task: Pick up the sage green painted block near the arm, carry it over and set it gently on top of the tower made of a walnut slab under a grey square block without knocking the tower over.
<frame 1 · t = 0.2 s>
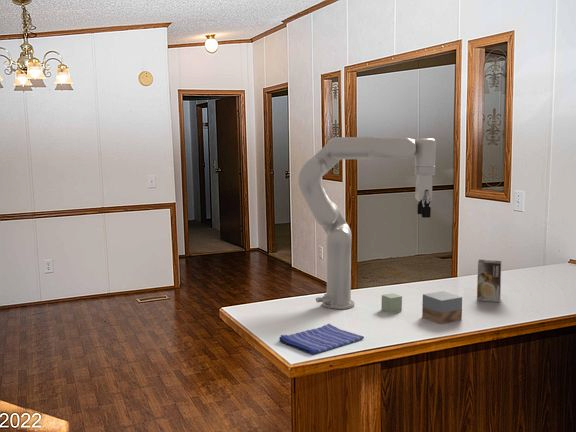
hand: (423, 215, 237), 36 cm above the table, tool pointing down, fingers open, 9 cm apart
dish towel: (320, 342, 204), on the table
grey square block: (441, 307, 227), point 4 cm above the table, touching walnut block
coffee box: (488, 300, 254), on the table
sage block: (391, 310, 238), on the table
walnut block: (441, 319, 228), on the table, touching grey square block
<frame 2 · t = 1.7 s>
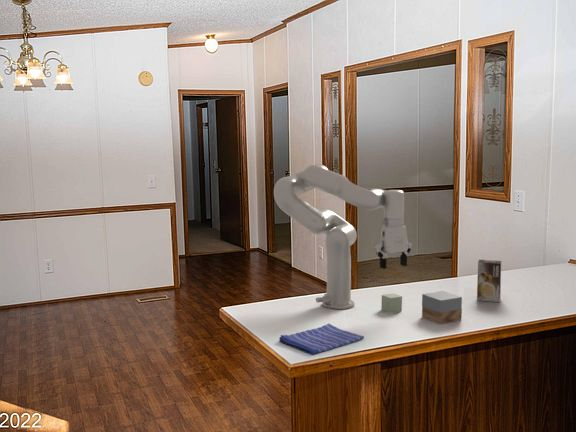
hand: (393, 266, 236), 17 cm above the table, tool pointing down, fingers open, 9 cm apart
grey square block: (441, 307, 227), point 4 cm above the table
walnut block: (441, 319, 228), on the table
everything else where it was.
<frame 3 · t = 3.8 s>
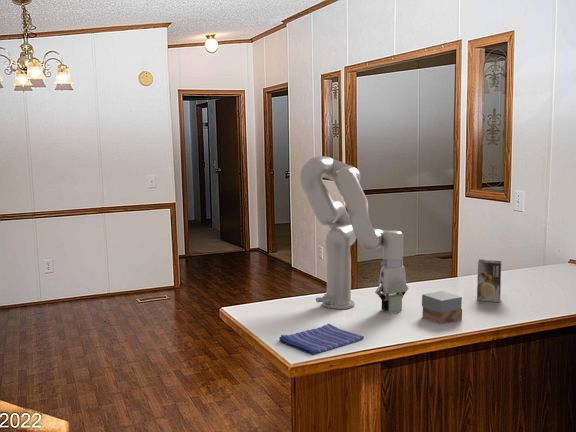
hand: (391, 308, 238), 1 cm above the table, tool pointing down, fingers closed on sage block, 5 cm apart
grey square block: (441, 307, 227), point 4 cm above the table, touching walnut block
sage block: (391, 310, 238), on the table, touching gripper
walnut block: (441, 319, 228), on the table, touching grey square block
everything else where it was.
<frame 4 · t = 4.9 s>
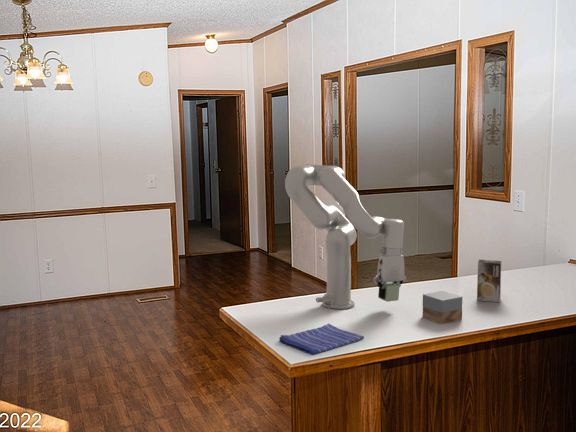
hand: (388, 296, 238), 5 cm above the table, tool pointing down, fingers closed on sage block, 5 cm apart
sage block: (388, 299, 238), point 4 cm above the table, touching gripper
everything else where it was.
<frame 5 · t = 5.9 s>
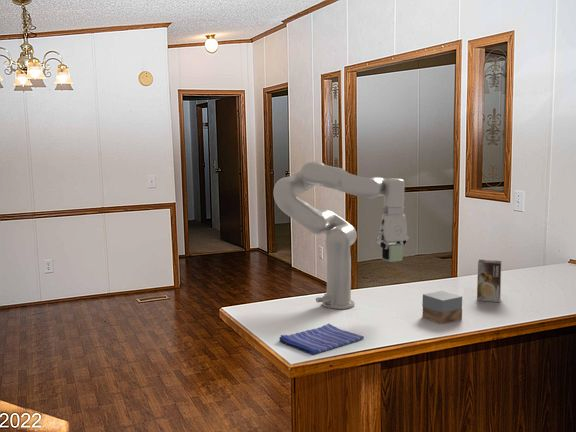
hand: (392, 257, 235), 21 cm above the table, tool pointing down, fingers closed on sage block, 5 cm apart
sage block: (392, 259, 235), point 20 cm above the table, touching gripper
everything else where it was.
when the fingers open (11 cm above the table, at t = 9.4 s): sage block drops 1 cm, resting on grey square block.
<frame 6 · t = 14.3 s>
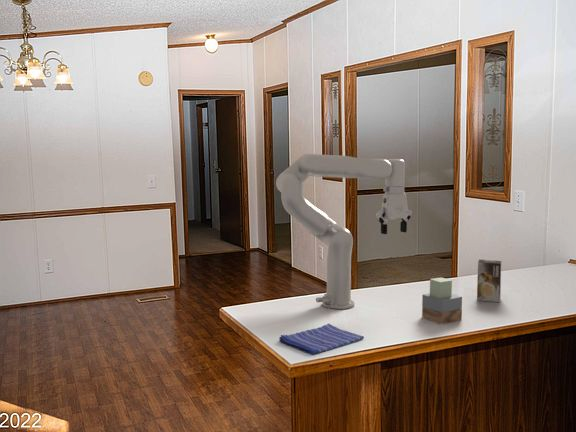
hand: (393, 232, 247), 28 cm above the table, tool pointing down, fingers open, 9 cm apart
grey square block: (441, 307, 227), point 4 cm above the table, touching sage block, walnut block
sage block: (440, 295, 227), point 9 cm above the table, touching grey square block
everything else where it was.
at the end: sage block 0.7 cm off-centre on the grey square block, point 4.5 cm above the grey square block's base; grey square block tilted 0°; grey square block 0.4 cm from the walnut block (horizontally) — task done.
